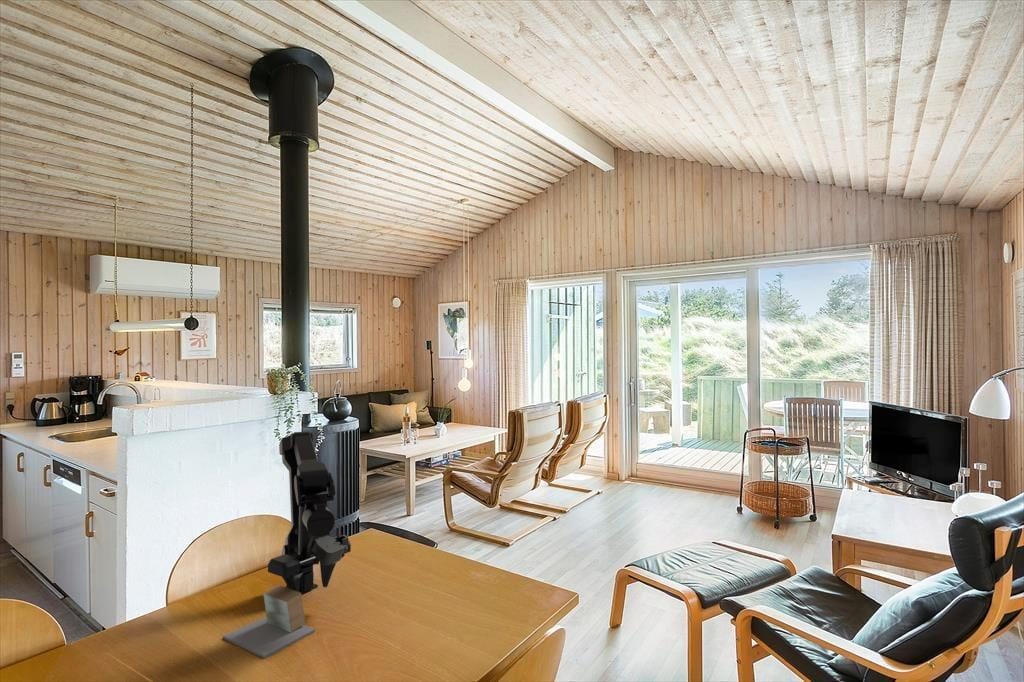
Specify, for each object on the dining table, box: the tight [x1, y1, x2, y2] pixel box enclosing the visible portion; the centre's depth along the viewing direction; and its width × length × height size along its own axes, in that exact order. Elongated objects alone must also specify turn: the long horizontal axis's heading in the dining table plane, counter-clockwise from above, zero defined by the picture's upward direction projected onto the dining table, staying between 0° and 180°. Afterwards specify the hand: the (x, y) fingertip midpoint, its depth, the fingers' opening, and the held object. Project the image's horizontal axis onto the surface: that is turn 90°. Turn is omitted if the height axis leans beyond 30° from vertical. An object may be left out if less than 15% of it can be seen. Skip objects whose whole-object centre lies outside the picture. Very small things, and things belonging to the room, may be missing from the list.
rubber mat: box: [222, 615, 316, 659], centre depth 113 cm, size 14×12×1 cm
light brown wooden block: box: [263, 584, 306, 633], centre depth 116 cm, size 8×4×7 cm, turn 59°
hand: (310, 593), depth 122 cm, fingers open, 8 cm apart
